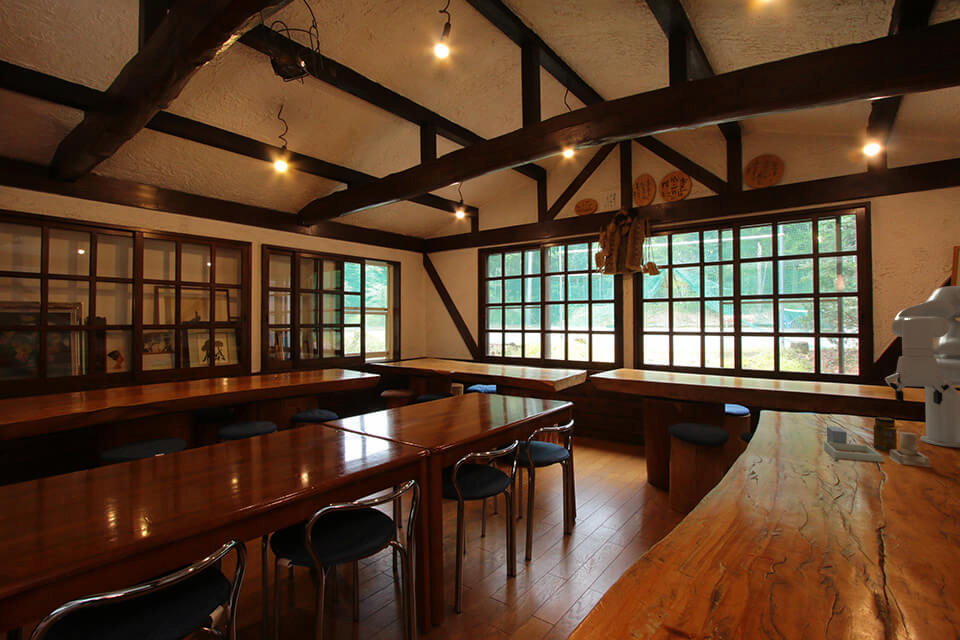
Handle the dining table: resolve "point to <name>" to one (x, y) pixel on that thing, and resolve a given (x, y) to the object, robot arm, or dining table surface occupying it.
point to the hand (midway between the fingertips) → (918, 402)
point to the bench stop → (836, 435)
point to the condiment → (885, 434)
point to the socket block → (909, 459)
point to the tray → (831, 447)
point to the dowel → (908, 444)
